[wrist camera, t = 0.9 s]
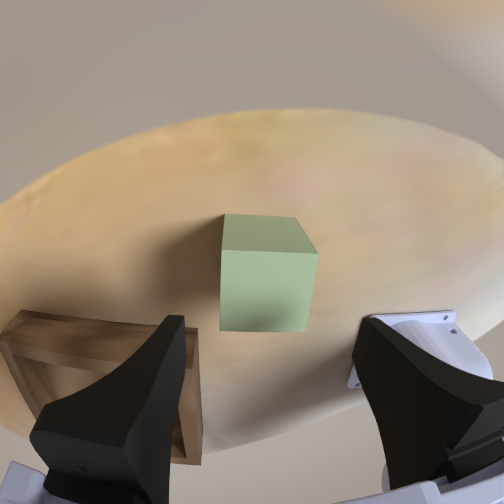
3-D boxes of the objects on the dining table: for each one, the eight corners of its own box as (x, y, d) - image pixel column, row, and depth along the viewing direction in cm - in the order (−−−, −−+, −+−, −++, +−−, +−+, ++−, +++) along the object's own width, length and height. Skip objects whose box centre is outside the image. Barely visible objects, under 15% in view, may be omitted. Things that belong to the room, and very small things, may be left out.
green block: (295, 217, 20) (318, 253, 15) (288, 280, 22) (305, 331, 16) (224, 213, 20) (221, 249, 14) (222, 278, 22) (219, 330, 16)
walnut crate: (197, 328, 23) (191, 369, 19) (202, 429, 28) (201, 465, 24) (21, 309, 22) (-4, 339, 18) (60, 408, 27) (47, 438, 23)
